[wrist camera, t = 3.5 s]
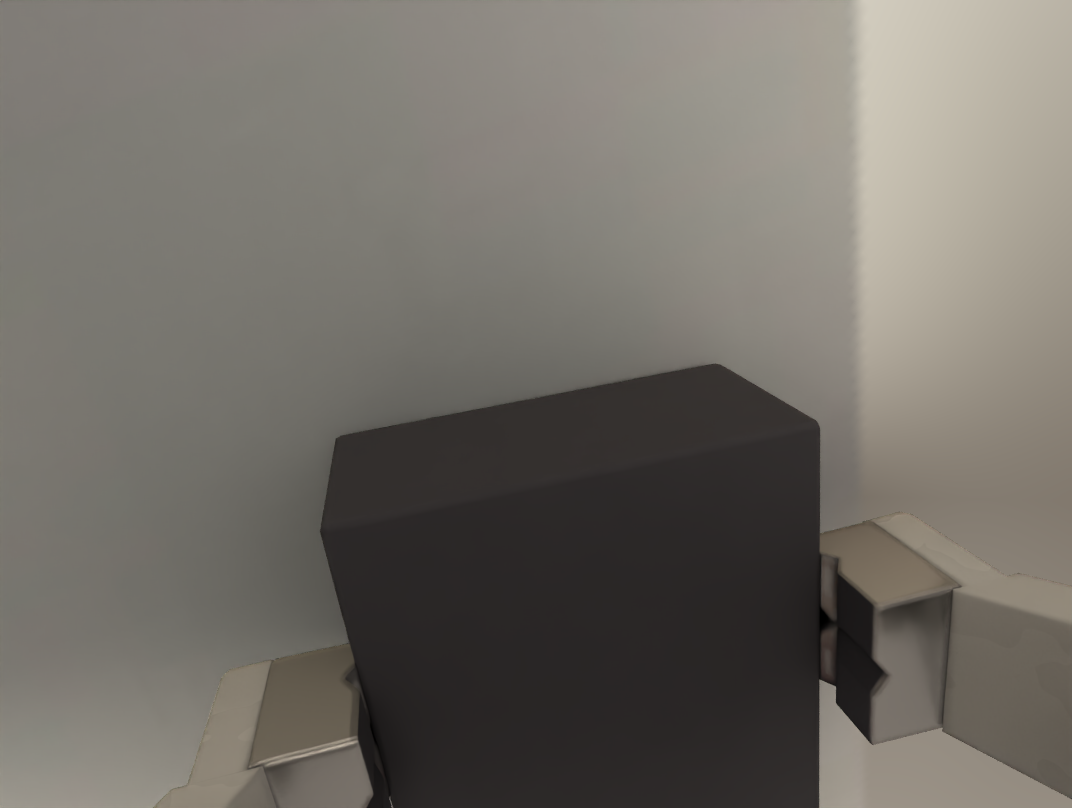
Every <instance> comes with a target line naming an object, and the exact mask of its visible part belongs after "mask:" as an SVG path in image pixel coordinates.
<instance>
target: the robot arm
mask: <svg viewBox="0 0 1072 808" xmlns="http://www.w3.org/2000/svg"><path fill="white" fill-rule="evenodd" d="M819 679H820V680H822V681H825V682H827V683H830V684H832V685H834V686H836V703H837V705H838V706H839V707H840V708H841V709H842V710H843V712H844V713H845V714H846V715H847V716H848V717H849V719H850V720H851V721H852V722H853V723H854V724H855V726H856V727H857V728H858V729H859V730H860V731H861V733H862V734H863V735H864V736H865V737H866V738H867V740H868V741H869V742H870V743H871V744H872V745H874V744H878V743H882V742H886V741H890V740H894V739H898V738H902V737H906V736H910V735H914V734H918V733H922V732H926V731H930V730H934V729H938V728H942V727H943V729H942V731H943V732H945V733H947V734H949V735H950V736H952V737H954V738H956V739H958V740H960V741H962V742H964V743H966V744H968V745H970V746H972V747H973V748H975V749H977V750H979V751H981V752H983V753H985V754H987V755H988V756H990V757H992V758H994V759H996V760H998V761H1000V762H1002V763H1004V764H1006V765H1008V766H1010V767H1011V768H1013V769H1015V770H1017V771H1019V772H1021V773H1023V774H1025V775H1027V776H1029V777H1030V778H1033V779H1034V780H1036V781H1038V782H1040V783H1042V784H1044V785H1046V786H1048V787H1050V788H1051V789H1054V790H1055V791H1057V792H1059V793H1061V794H1063V795H1065V796H1067V797H1069V798H1070V799H1072V586H1070V585H1066V584H1062V583H1057V582H1053V581H1049V580H1045V579H1041V578H1037V577H1033V576H1028V575H1025V574H1020V573H1017V574H1013V575H1009V576H1006V575H1004V574H1003V573H1001V572H1000V571H998V570H997V569H995V568H994V567H992V566H991V565H989V564H987V563H986V562H984V561H983V560H981V559H979V558H978V557H977V556H975V555H974V554H972V553H971V552H969V551H967V550H966V549H964V548H963V547H961V546H960V545H958V544H957V543H955V542H953V541H952V540H951V539H949V538H947V537H946V536H944V535H943V534H941V533H940V532H938V531H937V530H935V529H934V528H932V527H930V526H929V525H927V524H926V523H924V522H923V521H921V520H920V519H918V518H917V517H915V516H914V515H912V514H908V513H903V512H897V513H893V514H890V515H886V516H882V517H878V518H875V519H871V520H867V521H864V522H862V523H859V524H855V525H851V526H848V527H844V528H840V529H836V530H832V531H828V532H824V533H820V635H819ZM371 721H372V718H371V715H370V711H369V707H368V704H367V700H366V696H365V693H364V689H363V685H362V682H361V678H360V674H359V671H358V667H357V664H356V663H355V661H354V658H353V654H352V650H351V646H350V643H347V644H343V645H338V646H333V647H329V648H324V649H319V650H315V651H310V652H305V653H301V654H296V655H291V656H286V657H282V658H277V659H276V660H268V661H263V662H259V663H255V664H251V665H247V666H242V667H238V668H234V669H230V670H229V671H227V672H226V673H225V674H224V675H223V677H222V678H221V680H220V684H219V687H218V690H217V693H216V696H215V699H214V702H213V705H212V709H211V712H210V715H209V718H208V721H207V724H206V727H205V730H204V734H203V737H202V740H201V743H200V746H199V749H198V752H197V755H196V759H195V762H194V765H193V768H192V771H191V774H190V777H189V781H188V784H187V785H186V786H182V787H178V788H174V789H171V790H170V791H169V792H168V793H167V794H166V795H165V796H164V797H163V798H162V799H161V800H160V801H159V802H158V803H157V804H156V805H155V806H154V807H153V808H392V807H391V803H390V800H389V797H390V795H391V792H390V788H389V784H388V780H387V776H386V772H385V768H384V764H383V761H382V757H381V753H380V749H379V745H378V743H377V741H376V739H375V737H374V733H373V729H372V725H371Z"/></svg>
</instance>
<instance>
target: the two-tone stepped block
mask: <svg viewBox="0 0 1072 808" xmlns="http://www.w3.org/2000/svg"><path fill="white" fill-rule="evenodd" d="M320 533H321V537H322V541H323V544H324V548H325V552H326V556H327V560H328V563H329V567H330V571H331V575H332V578H333V582H334V586H335V590H336V593H337V597H338V601H339V605H340V609H341V612H342V616H343V620H344V624H345V627H346V631H347V635H348V639H349V642H350V646H351V650H352V654H353V658H354V661H355V663H356V664H357V667H358V671H359V674H360V678H361V682H362V685H363V689H364V693H365V696H366V700H367V704H368V707H369V711H370V715H371V718H372V721H371V725H372V729H373V733H374V737H375V739H376V741H377V743H378V745H379V749H380V753H381V757H382V761H383V764H384V768H385V772H386V776H387V780H388V784H389V788H390V792H391V795H390V797H391V801H392V805H393V808H819V635H820V427H819V425H818V423H817V421H816V420H814V419H812V418H810V417H809V416H807V415H805V414H804V413H802V412H800V411H799V410H797V409H795V408H793V407H792V406H790V405H788V404H787V403H785V402H783V401H782V400H780V399H778V398H776V397H775V396H773V395H771V394H770V393H768V392H766V391H765V390H763V389H761V388H759V387H758V386H756V385H754V384H753V383H751V382H749V381H747V380H746V379H744V378H742V377H741V376H739V375H737V374H736V373H734V372H732V371H730V370H729V369H727V368H725V367H724V366H722V365H720V364H711V365H706V366H701V367H696V368H691V369H685V370H680V371H675V372H670V373H665V374H659V375H654V376H649V377H644V378H639V379H634V380H628V381H623V382H618V383H613V384H608V385H602V386H597V387H592V388H587V389H582V390H576V391H571V392H566V393H561V394H556V395H550V396H545V397H540V398H535V399H530V400H524V401H519V402H514V403H509V404H504V405H498V406H493V407H488V408H483V409H478V410H472V411H467V412H462V413H457V414H452V415H447V416H441V417H436V418H431V419H426V420H421V421H415V422H410V423H405V424H400V425H395V426H389V427H384V428H379V429H374V430H369V431H363V432H358V433H353V434H348V435H343V436H340V437H338V438H337V439H336V442H335V447H334V453H333V459H332V465H331V471H330V476H329V482H328V488H327V494H326V500H325V505H324V511H323V517H322V523H321V529H320Z"/></svg>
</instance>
